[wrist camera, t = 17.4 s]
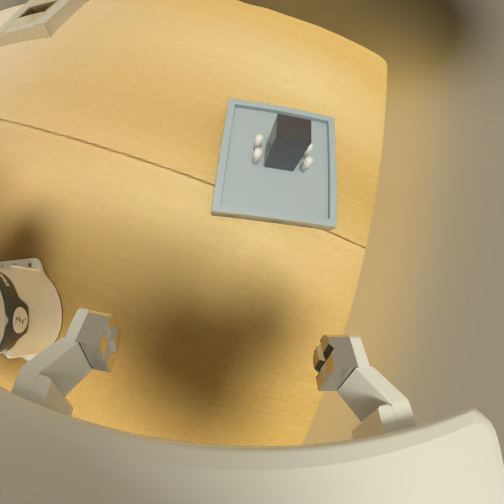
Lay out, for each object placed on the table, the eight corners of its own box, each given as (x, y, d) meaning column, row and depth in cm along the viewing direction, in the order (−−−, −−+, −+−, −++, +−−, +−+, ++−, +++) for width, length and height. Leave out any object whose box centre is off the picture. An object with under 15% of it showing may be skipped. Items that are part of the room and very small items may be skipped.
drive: (263, 167, 46) (276, 135, 36) (265, 145, 47) (277, 112, 37) (292, 171, 47) (311, 142, 37) (293, 150, 48) (311, 119, 38)
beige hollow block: (94, -3, 53) (35, 8, 50) (89, -18, 45) (30, -4, 42) (52, 38, 49) (-2, 48, 46) (44, 22, 41) (-10, 36, 38)
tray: (211, 215, 45) (211, 204, 40) (228, 106, 49) (230, 88, 44) (330, 230, 48) (344, 222, 42) (329, 124, 51) (339, 109, 46)
